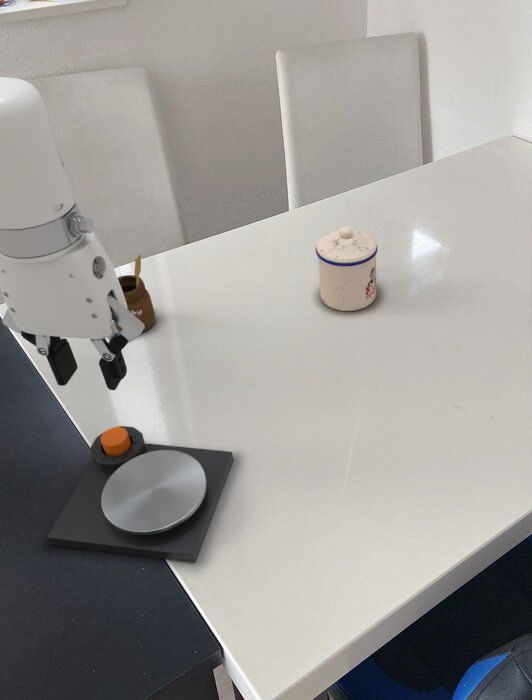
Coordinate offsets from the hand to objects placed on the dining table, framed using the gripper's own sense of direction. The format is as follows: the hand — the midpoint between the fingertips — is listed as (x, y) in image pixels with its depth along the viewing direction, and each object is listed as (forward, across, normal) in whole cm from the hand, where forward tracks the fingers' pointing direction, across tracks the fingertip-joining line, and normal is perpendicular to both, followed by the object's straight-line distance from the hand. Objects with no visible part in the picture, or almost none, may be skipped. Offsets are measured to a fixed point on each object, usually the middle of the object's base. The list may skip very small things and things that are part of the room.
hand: (92, 377), depth 72 cm
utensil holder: (+14, +9, -26) cm, 31 cm away
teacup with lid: (+14, -21, -38) cm, 45 cm away
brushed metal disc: (+10, -7, +6) cm, 14 cm away
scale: (+13, -5, +5) cm, 15 cm away
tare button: (+11, 0, 0) cm, 11 cm away
